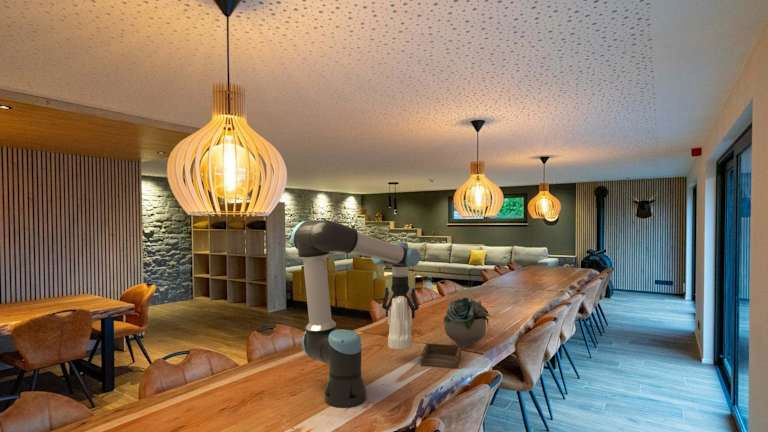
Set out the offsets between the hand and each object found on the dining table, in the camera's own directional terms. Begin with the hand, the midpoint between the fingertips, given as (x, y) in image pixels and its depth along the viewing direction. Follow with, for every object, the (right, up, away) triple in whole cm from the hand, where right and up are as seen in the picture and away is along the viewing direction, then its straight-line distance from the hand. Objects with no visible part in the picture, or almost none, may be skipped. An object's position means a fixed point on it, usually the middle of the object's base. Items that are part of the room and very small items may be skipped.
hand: (400, 324), depth 187 cm
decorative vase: (0, -10, 0) cm, 10 cm away
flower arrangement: (+34, -17, +23) cm, 45 cm away
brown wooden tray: (+19, -16, -1) cm, 25 cm away
